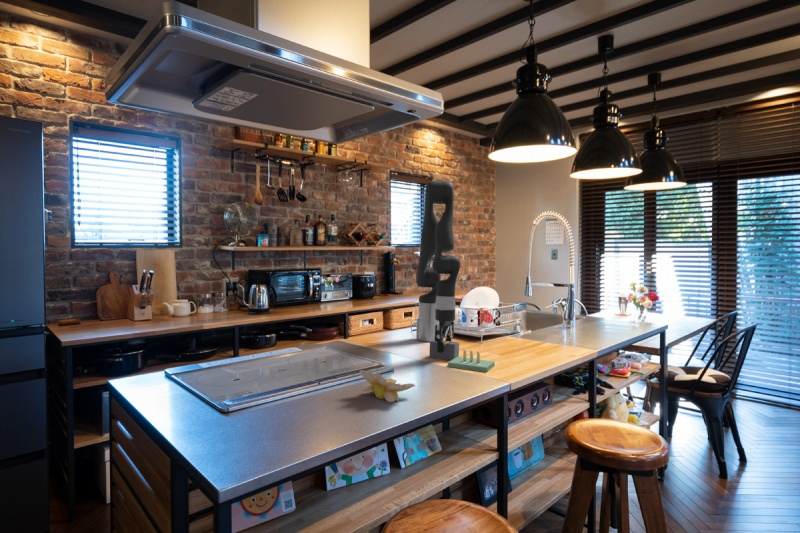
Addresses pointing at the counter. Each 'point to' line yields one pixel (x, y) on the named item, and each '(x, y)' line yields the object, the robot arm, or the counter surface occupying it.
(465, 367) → the pin board
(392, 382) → the decorative flower
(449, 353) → the plug housing
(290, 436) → the counter surface
